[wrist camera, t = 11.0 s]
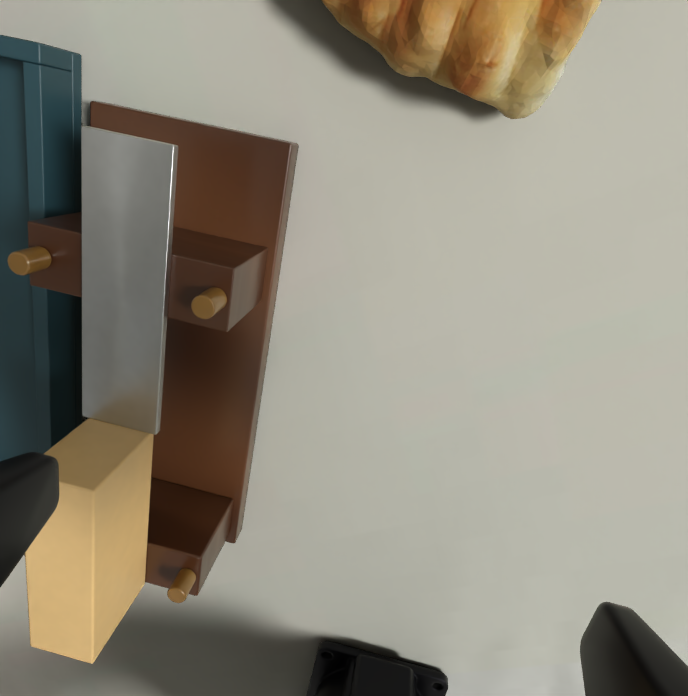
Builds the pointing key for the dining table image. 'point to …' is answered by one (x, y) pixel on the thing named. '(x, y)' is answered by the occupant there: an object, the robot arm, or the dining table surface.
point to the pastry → (474, 43)
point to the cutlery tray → (12, 235)
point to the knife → (109, 400)
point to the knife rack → (197, 327)
